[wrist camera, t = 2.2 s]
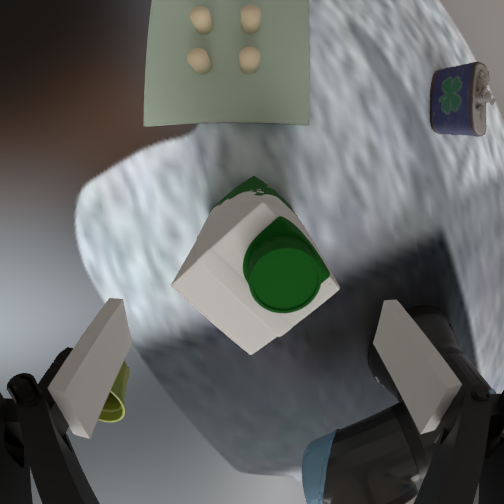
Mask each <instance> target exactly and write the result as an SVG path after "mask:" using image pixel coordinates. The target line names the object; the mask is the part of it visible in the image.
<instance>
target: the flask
mask: <svg viewBox="0 0 504 504" xmlns="http://www.w3.org/2000/svg"><path fill="white" fill-rule="evenodd" d="M488 82H489V72H488V70H487V68H486V66H485V65H484V64H482V63H480V62H474V63H469V64H464V65H460V66H456V67H450V68H445V69H442V70H438V71H435V73H434V75H433V79H432V83H431V90H430V122H431V127H432V129H433V131H434V132H436V133H438V134H452V135H471V136H477V137H479V136H482V135H484V134H485V132H486V102H490V104H491V105H493V104H494V101H495V98H493V100H492V99H491V93H490V91H488V90H487V85H488Z"/></svg>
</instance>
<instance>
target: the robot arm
mask: <svg viewBox="0 0 504 504" xmlns="http://www.w3.org/2000/svg"><path fill="white" fill-rule="evenodd" d="M131 345H132V340H131V335H130V331H129V326H128V322H127V317H126V312H125V307H124V302H123V299H113V298H109V300H108V301H107V302H106V304H105V305H104V306H103V308H102V309H101V310H100V312H99V313H98V315H97V316H96V317H95V319H94V320H93V322H92V323H91V324H90V326H89V327H88V328H87V330H86V331H85V333H84V334H83V335H82V337H81V338H80V340H79V341H78V343H77V344H76V346H75V347H74V348H68V347H67V348H66V349H65V350H63V351H62V352H61V353H59V354H58V356H57V357H56V359H55V360H54V363H52V364H51V366H50V369H48V370H47V372H46V373H45V375H44V376H43V378H42V379H41V381H40V382H39V384H37V382H36V380H35V378H34V376H32V375H31V374H27V373H22V374H18V375H16V376H14V377H13V378H12V379H10V381H9V382H8V384H7V390H8V392H9V394H10V395H11V397H12V399H5V398H3V396H2V395H1V393H0V504H33V503H32V493H31V480H30V468H31V471H32V474H33V478H34V481H35V484H36V487H37V490H38V493H39V495H40V498H41V501H42V503H43V504H99V502H98V500H97V498H96V496H95V494H94V492H93V491H92V489H91V487H90V485H89V483H88V481H87V479H86V476H85V474H84V472H83V470H82V468H81V466H80V464H79V461H78V459H77V457H76V454H75V452H74V450H73V447H72V445H71V443H70V440H69V438H68V436H67V434H66V431H67V429H68V427H70V429H71V430H72V432H73V434H74V435H78V436H82V437H85V438H89V439H90V437H91V435H92V432H93V430H94V427H95V425H96V423H97V420H98V418H99V415H100V413H101V411H102V408H103V406H104V404H105V402H106V399H107V397H108V395H109V392H110V390H111V388H112V386H113V383H114V381H115V379H116V377H117V375H118V373H119V370H120V368H121V366H122V364H123V362H124V360H125V357H126V355H127V353H128V351H129V349H130V347H131ZM368 364H369V368H370V370H371V372H372V374H373V376H374V378H375V380H376V381H377V382H378V383H379V384H380V385H382V386H383V387H385V388H386V389H388V390H389V391H390V392H391V393H392V394H393V395H394V396H395V397H396V398H397V399H398V401H399V403H397V404H395V405H393V406H391V407H389V408H387V409H385V410H383V411H381V412H379V413H377V414H374V415H372V416H370V417H368V418H366V419H363V420H361V421H359V422H357V423H354V424H352V425H350V426H347V427H345V428H342V429H336V430H334V431H333V432H332V433H330V434H327V435H325V436H323V437H320V438H318V439H315V440H314V441H312V442H311V443H310V444H309V445H308V446H307V448H306V449H305V452H304V455H303V461H302V482H303V489H304V494H305V498H306V502H307V504H473V501H474V498H475V494H476V490H477V486H478V483H479V504H504V391H503V392H502V394H496V392H495V390H494V389H492V388H491V387H490V386H489V384H488V383H487V382H486V381H485V379H484V378H483V377H482V376H481V374H480V373H479V372H478V371H477V369H476V368H475V367H474V366H473V365H472V363H471V362H470V361H469V360H468V359H467V357H466V356H465V355H464V354H463V353H462V351H461V350H460V348H459V345H458V342H457V340H456V337H455V335H454V331H453V327H452V325H451V323H450V321H449V320H448V318H447V317H446V316H445V315H444V314H443V313H442V312H441V311H440V310H438V309H437V308H434V307H431V306H420V307H415V308H412V309H409V310H407V311H406V310H405V309H404V308H403V307H402V305H401V304H400V303H399V302H398V301H397V300H384V303H383V307H382V311H381V315H380V319H379V323H378V327H377V331H376V334H375V338H374V341H373V343H372V345H371V347H370V350H369V355H368ZM423 478H424V480H423V483H422V485H421V488H420V490H419V492H418V490H417V487H416V484H415V483H416V482H417V481H419V480H421V479H423Z"/></svg>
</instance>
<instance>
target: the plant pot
mask: <svg viewBox="0 0 504 504" xmlns="http://www.w3.org/2000/svg"><path fill="white" fill-rule="evenodd" d="M128 377H129V368H128V367H127V365H126V363H125V361H124V362H123V364H122V366H121V368H120V370H119V373H118V375H117V377H116V379H115V381H114V383H113V386H112V388H111V390H110V392H109V395H108V397H107V399H106V402H105V404H104V406H103V408H102V411H101V413H100V415H99V418H98V420H100V421H104V422H116V421H119V420H121V419H122V418H123V417H124V414H125V407H124V396H125V391H126V385H127V381H128Z"/></svg>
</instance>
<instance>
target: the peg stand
mask: <svg viewBox="0 0 504 504" xmlns="http://www.w3.org/2000/svg"><path fill="white" fill-rule="evenodd" d="M309 95H310V42H309V2H308V0H152V4H151V12H150V20H149V30H148V41H147V54H146V69H145V91H144V126H160V125H175V124H197V123H269V124H291V125H309Z"/></svg>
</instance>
